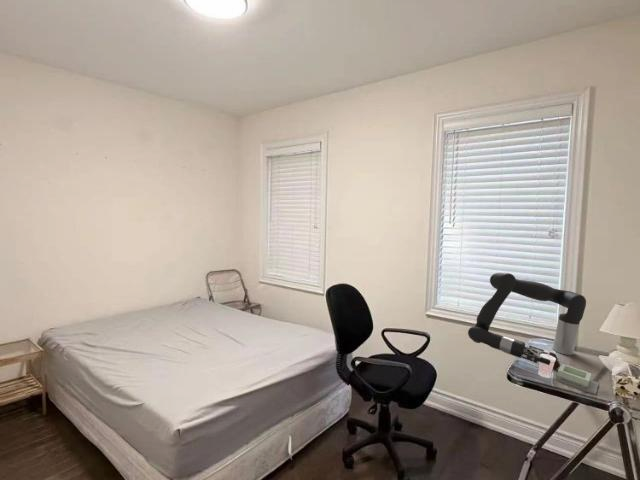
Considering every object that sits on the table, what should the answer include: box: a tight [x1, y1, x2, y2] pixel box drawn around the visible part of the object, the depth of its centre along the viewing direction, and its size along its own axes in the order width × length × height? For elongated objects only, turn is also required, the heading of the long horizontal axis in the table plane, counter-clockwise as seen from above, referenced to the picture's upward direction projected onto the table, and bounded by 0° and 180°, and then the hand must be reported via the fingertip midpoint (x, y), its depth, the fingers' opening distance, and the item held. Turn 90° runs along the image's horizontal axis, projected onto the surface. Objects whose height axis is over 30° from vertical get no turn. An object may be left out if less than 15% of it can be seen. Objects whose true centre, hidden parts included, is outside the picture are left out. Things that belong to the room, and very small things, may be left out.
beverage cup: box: [538, 345, 556, 379], centre depth 154 cm, size 6×6×14 cm
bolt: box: [549, 351, 561, 371], centre depth 169 cm, size 6×5×15 cm
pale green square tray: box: [555, 363, 599, 396], centre depth 151 cm, size 14×14×4 cm
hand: (551, 360), depth 153 cm, fingers open, 8 cm apart
